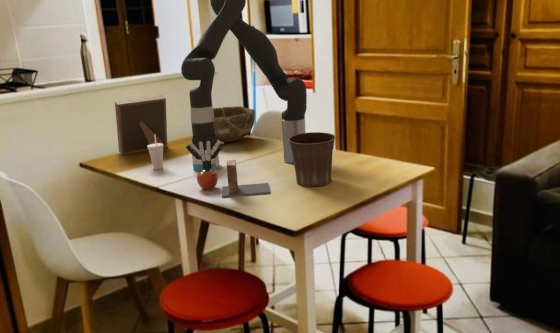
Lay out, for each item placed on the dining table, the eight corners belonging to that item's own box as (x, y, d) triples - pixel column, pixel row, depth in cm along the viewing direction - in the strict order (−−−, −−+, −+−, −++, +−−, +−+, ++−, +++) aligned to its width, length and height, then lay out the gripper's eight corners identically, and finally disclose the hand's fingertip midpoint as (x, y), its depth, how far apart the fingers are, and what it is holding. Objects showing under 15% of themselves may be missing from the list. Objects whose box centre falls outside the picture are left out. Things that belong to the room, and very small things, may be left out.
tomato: (215, 191, 179) (213, 169, 176) (194, 191, 180) (192, 169, 178) (221, 185, 186) (219, 163, 183) (201, 185, 187) (199, 163, 185)
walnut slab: (238, 187, 180) (235, 159, 177) (238, 194, 173) (235, 165, 170) (229, 188, 180) (226, 160, 177) (229, 194, 173) (226, 165, 170)
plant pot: (323, 192, 172) (321, 144, 167) (282, 186, 180) (279, 141, 176) (344, 178, 185) (343, 133, 181) (305, 173, 194) (303, 130, 189)
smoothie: (169, 166, 214) (165, 133, 210) (159, 170, 208) (155, 136, 204) (156, 165, 216) (152, 132, 213) (146, 169, 211) (142, 136, 207)
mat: (268, 184, 183) (268, 182, 183) (270, 193, 174) (269, 191, 173) (222, 188, 182) (222, 186, 182) (222, 197, 172) (221, 195, 172)
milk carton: (213, 170, 204) (209, 137, 200) (193, 170, 206) (189, 137, 202) (219, 164, 212) (216, 132, 208) (200, 164, 214) (197, 132, 210)
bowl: (234, 150, 232) (231, 117, 228) (189, 145, 247) (186, 114, 243) (268, 137, 254) (266, 107, 250) (225, 133, 269) (223, 104, 265)
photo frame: (119, 153, 240) (111, 99, 233) (164, 145, 251) (158, 93, 244) (128, 160, 228) (120, 103, 221) (175, 151, 239) (169, 97, 231)
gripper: (223, 116, 174) (227, 166, 178) (183, 119, 173) (188, 169, 177) (222, 120, 166) (227, 172, 171) (181, 123, 165) (186, 175, 170)
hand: (207, 170), depth 174 cm, fingers closed
